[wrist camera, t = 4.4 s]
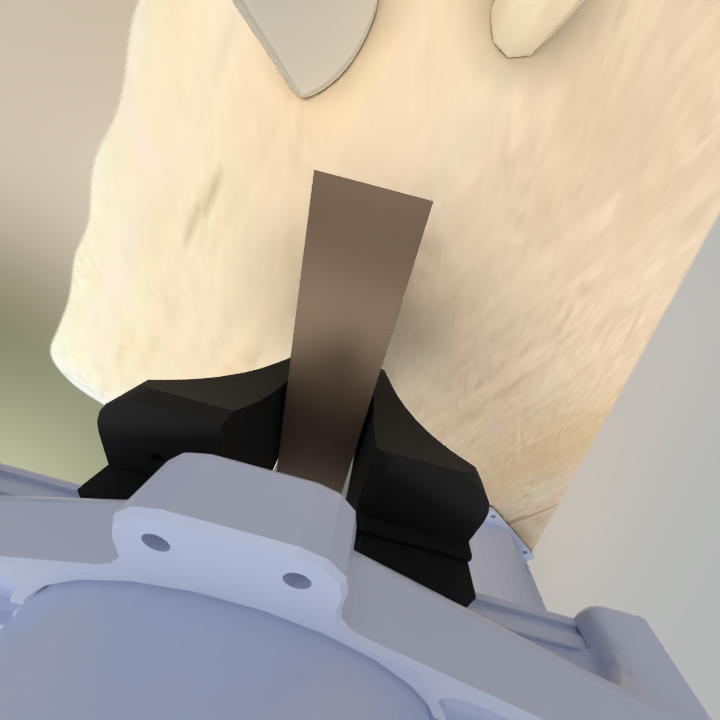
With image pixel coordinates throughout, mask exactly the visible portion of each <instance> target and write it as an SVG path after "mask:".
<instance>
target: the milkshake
mask: <svg viewBox="0 0 720 720" xmlns="http://www.w3.org/2000/svg"><path fill="white" fill-rule="evenodd" d="M584 1H585V0H495V1H494V4H493V7H492V10H491V13H490V14H491V25H492V36H493V43H494V44H495V45H496V46H497V47H498V48H499V49H500V50H501V51H502V52H503V53H504V54H505V56H506V57H507V58H511V57H523V56H530V55H531V54H532V53H533V52H534V51H536V50H537V49H538V48H539V47H540V46H541V45H542V44H544V43H545V42H546V41H547V40H548V39H549V38H550V37H551V36H553V35H554V33H555V32H556V31H557V30H558V29H559V28H560V27H561V26H562V25H563V24H564V23H565V22H566V20H567V19H568V18H569V17H570V16H571V15H572V14H573V13H574V12H575V11H576V10H577V9H578V7H579V6H580V5H581V4H582V3H583V2H584Z"/></svg>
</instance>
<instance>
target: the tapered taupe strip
mask: <svg viewBox="0 0 720 720" xmlns="http://www.w3.org/2000/svg"><path fill="white" fill-rule="evenodd" d="M432 204H433V201H430V200H426V199H422V198H418V197H415V196H411V195H407V194H403V193H400V192H396V191H392V190H388V189H385V188H381V187H377V186H373V185H369V184H366V183H362V182H358V181H354V180H351V179H347V178H343V177H339V176H335V175H332V174H328V173H324V172H320V171H317V170H314V176H313V184H312V192H311V200H310V208H309V216H308V224H307V232H306V240H305V248H304V256H303V264H302V272H301V280H300V288H299V295H298V303H297V311H296V319H295V327H294V335H293V343H292V351H291V359H290V367H289V375H288V383H287V391H286V399H285V407H284V415H283V423H282V431H281V439H280V447H279V455H278V463H277V471H276V472H279V473H283V474H287V475H291V476H294V477H298V478H302V479H305V480H309V481H313V482H317V483H320V484H322V485H324V486H326V487H328V488H330V489H332V490H334V491H337V492H339V493H340V494H342V491H343V488H344V484H345V481H346V478H347V475H348V472H349V469H350V465H351V462H352V459H353V456H354V453H355V449H356V446H357V443H358V440H359V437H360V433H361V430H362V427H363V424H364V421H365V417H366V414H367V411H368V408H369V405H370V402H371V398H372V395H373V392H374V389H375V386H376V382H377V379H378V376H379V373H380V370H381V366H382V363H383V360H384V357H385V354H386V350H387V347H388V344H389V341H390V338H391V335H392V331H393V328H394V325H395V322H396V319H397V315H398V312H399V309H400V306H401V303H402V299H403V296H404V293H405V290H406V287H407V283H408V280H409V277H410V274H411V271H412V268H413V264H414V261H415V258H416V255H417V252H418V248H419V245H420V242H421V239H422V236H423V232H424V229H425V226H426V223H427V220H428V217H429V213H430V210H431V207H432Z"/></svg>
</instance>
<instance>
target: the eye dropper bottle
mask: <svg viewBox="0 0 720 720" xmlns="http://www.w3.org/2000/svg"><path fill="white" fill-rule="evenodd" d="M377 1H378V0H232V2H233V3H234V5H235V6H236V8H237V9H238V11H239V12H240V14H241V15H242V17H243V18H244V20H245V21H246V23H247V24H248V26H249V27H250V29H251V30H252V32H253V33H254V35H255V36H256V38H257V39H258V41H259V42H260V44H261V45H262V47H263V48H264V50H265V51H266V53H267V54H268V56H269V57H270V59H271V60H272V61H273V63H274V64H275V66H276V67H277V69H278V70H279V72H280V73H281V75H282V76H283V78H284V79H285V81H286V82H287V84H288V85H289V87H290V88H291V89H292V91H293V92H294V93H295V94H296V95H297V96H299V97H304V98H306V97H310V96H312V95H315V94H317V93H318V92H320V91H322V90H324V89H325V88H326V87H328V86H329V85H330V84H332V83H333V82H334V81H335V80H336V79H337V78H338V77H339V76H340V75H341V74H342V73H343V72H344V71H345V70H346V69H347V67H348V66H349V65H350V63H351V62H352V61H353V59H354V58H355V56H356V55H357V53H358V51H359V49H360V48H361V46H362V44H363V42H364V40H365V38H366V36H367V33H368V31H369V29H370V26H371V24H372V21H373V18H374V15H375V12H376V8H377Z"/></svg>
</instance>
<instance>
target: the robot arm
mask: <svg viewBox="0 0 720 720" xmlns="http://www.w3.org/2000/svg"><path fill="white" fill-rule="evenodd" d="M290 359H291V358H288V359H286V360H284V361H281V362H278V363H275V364H273V365H270V366H267V367H264V368H261V369H257V370H253V371H249V372H245V373H240V374H234V375H228V376H222V377H214V378H203V379H188V380H147V381H145V382H144V383H142V384H140V385H138V386H137V387H135V388H133V389H131V390H130V391H128V392H126V393H124V394H123V395H121V396H119V397H117V398H116V399H114V400H112V401H110V402H109V403H107V404H105V406H104V407H103V408H102V409H101V410H100V412H99V416H98V421H97V423H98V430H99V434H100V438H101V441H102V444H103V447H104V451H105V454H106V457H107V460H108V464H109V465H107V466H106V467H105V468H104V469H102V470H101V471H100V472H99V473H97V474H96V475H95V476H94V477H92V478H91V479H90V480H89V481H87V482H86V483H85V484H83V485H79V484H76V483H72V482H68V481H65V480H61V479H57V478H54V477H50V476H46V475H42V474H39V473H35V472H31V471H27V470H24V469H20V468H17V467H13V466H9V465H5V464H2V463H0V720H711V718H710V717H709V715H708V714H707V712H706V711H705V709H704V708H703V706H702V705H701V703H700V702H699V700H698V699H697V697H696V696H695V694H694V693H693V691H692V690H691V688H690V687H689V685H688V684H687V682H686V681H685V679H684V678H683V676H682V675H681V673H680V672H679V670H678V669H677V667H676V666H675V664H674V662H673V661H672V659H671V658H670V657H669V655H668V654H667V652H666V650H665V649H664V647H663V646H662V644H661V643H660V641H659V640H658V639H657V637H656V635H655V634H654V632H653V631H652V630H651V628H650V626H649V625H648V623H647V622H646V620H645V619H643V618H641V617H639V616H636V615H632V614H628V613H625V612H621V611H617V610H613V609H610V608H607V607H602V606H591V607H587V608H585V609H583V610H582V611H580V612H579V613H578V614H577V615H576V616H575V618H571V617H567V616H564V615H560V614H556V613H552V612H549V611H547V610H546V608H545V606H544V603H543V601H542V598H541V596H540V593H539V591H538V589H537V586H536V584H535V581H534V579H533V577H532V574H531V572H530V569H529V567H528V564H527V562H526V560H530V559H533V557H534V556H533V553H532V552H531V551H530V549H529V548H528V547H527V546H526V545H525V544H524V543H523V541H522V540H521V539H520V538H519V537H518V536H517V535H516V533H515V532H514V531H513V530H512V529H511V528H510V526H509V525H508V524H507V523H506V522H505V521H504V520H503V518H502V517H501V516H500V515H499V514H498V513H497V512H496V510H495V509H494V508H491V507H489V501H488V499H487V496H486V493H485V490H484V487H483V484H482V481H481V479H480V476H479V474H478V472H477V470H476V467H474V466H473V465H471V464H470V463H468V462H467V461H465V460H464V459H462V458H461V457H459V456H458V455H456V454H455V453H453V452H452V451H451V450H449V449H448V448H447V447H445V446H444V445H443V444H442V443H440V442H439V441H438V440H437V439H435V438H434V437H433V436H432V435H431V434H430V433H429V432H428V431H427V430H426V429H424V428H423V427H422V426H421V425H420V424H419V423H418V422H417V420H416V419H415V418H414V417H413V416H412V415H411V414H410V412H409V411H408V410H407V409H406V407H405V406H404V405H403V403H402V402H401V400H400V399H399V397H398V396H397V394H396V392H395V391H394V389H393V387H392V385H391V383H390V381H389V379H388V377H387V375H386V373H385V371H384V370H382V369H381V370H380V373H379V376H378V379H377V382H376V386H375V389H374V392H373V395H372V398H371V402H370V405H369V408H368V411H367V414H366V417H365V421H364V424H363V427H362V430H361V433H360V437H359V440H358V443H357V446H356V449H355V453H354V457H353V465H352V471H351V476H350V481H349V486H348V491H347V495H346V500H345V499H344V497H343V496H342V495H341V494H340V493H339V492H337V491H334V490H332V489H330V488H328V487H326V486H324V485H322V484H320V483H317V482H313V481H309V480H305V479H302V478H298V477H294V476H291V475H287V474H283V473H279V472H276V471H272V470H273V468H274V466H275V464H276V462H277V460H278V455H279V447H280V439H281V431H282V423H283V415H284V407H285V399H286V391H287V383H288V375H289V367H290Z"/></svg>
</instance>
